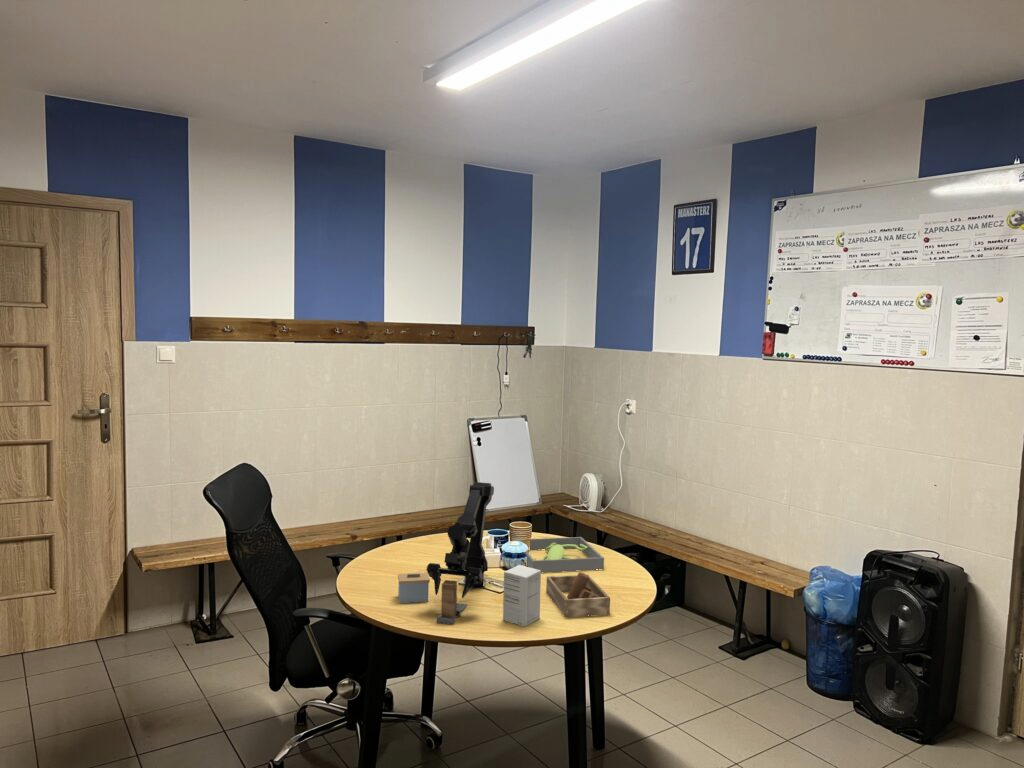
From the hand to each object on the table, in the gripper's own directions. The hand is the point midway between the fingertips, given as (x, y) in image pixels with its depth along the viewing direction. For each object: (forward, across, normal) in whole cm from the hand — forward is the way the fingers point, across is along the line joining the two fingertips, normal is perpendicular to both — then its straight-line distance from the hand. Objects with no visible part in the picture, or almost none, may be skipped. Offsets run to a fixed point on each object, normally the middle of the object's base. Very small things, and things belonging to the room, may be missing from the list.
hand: (449, 595), depth 249 cm
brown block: (+6, 0, +6) cm, 8 cm away
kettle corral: (-46, +26, +57) cm, 77 cm away
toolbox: (-4, -18, +15) cm, 24 cm away
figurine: (-46, +27, +58) cm, 79 cm away
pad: (-1, 0, +12) cm, 13 cm away
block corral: (-13, +40, +24) cm, 48 cm away
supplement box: (+1, +23, +10) cm, 26 cm away
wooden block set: (-13, +42, +24) cm, 50 cm away
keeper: (+6, 0, +6) cm, 8 cm away
